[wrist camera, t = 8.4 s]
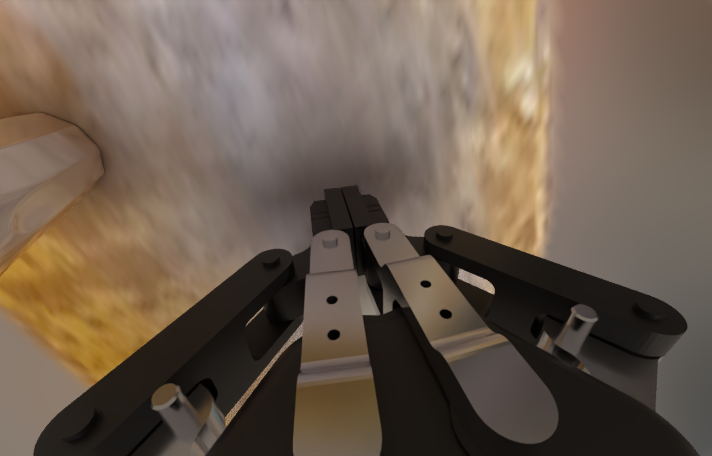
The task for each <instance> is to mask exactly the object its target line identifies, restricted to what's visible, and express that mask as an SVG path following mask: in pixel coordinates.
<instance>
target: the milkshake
mask: <svg viewBox="0 0 712 456" xmlns="http://www.w3.org/2000/svg"><path fill="white" fill-rule="evenodd" d="M104 172H105V171H104V167H103V163H102V159H101V154H100V150H99V148H98V147H97V146H96V145H95V144H94V143H93V142H92V141H91V140H90V139H89V138H88V137H87V136H86V135H85V134H84V133H83V132H82V131H81V130H80V129H79V128H78V127H77V126H76V125H74V124H71V123H68V122H66V121H63V120H61V119H58V118H55V117H53V116H50V115H48V114H45V113H42V112H40V113H33V114H26V115H19V116H11V117H4V118H0V276H1V275H2V274H3V273H4V272H5V271H6V270H7V269H8V268H9V267H10V266H11V265H12V264H13V263H14V262H15V261H16V260H17V259H18V258H19V257H20V256H21V255H22V254H23V253H24V252H25V251H26V250H27V249H28V248H29V247H30V246H32V245H33V244H34V243H35V242H36V241H37V240H38V239H39V238H40V237H41V236H42V235H43V234H44V233H46V232H47V231H48V230H49V229H50V228H51V227H52V226H53V225H54V224H55V223H56V222H57V221H58V220H60V219H61V218H62V217H63V216H64V215H65V214H66V213H67V212H68V211H69V210H70V209H71V208H72V207H73V206H75V205H76V204H77V203H78V202H79V201H80V200H81V199H82V198H83V197H84V196H85V195H86V194H87V193H89V192H90V191H91V190H92V188H93V187H94V186H95V184H96V183H97V182H98V180H99V179H100V178H101V176H102V175H103V174H104Z"/></svg>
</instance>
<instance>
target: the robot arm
mask: <svg viewBox="0 0 712 456" xmlns="http://www.w3.org/2000/svg"><path fill="white" fill-rule="evenodd" d="M324 194H325V200H321V201H314V202H313V204H312V205H311V207H310V212H311V222H312V232H313V238H312V240H311V246H310V247H309V248H308V249H307V250H305V251H303V252H301V253H299V254H296V255H294V256H292V255H291V253H290V252H288V251H286V250H283V249H271V250H267V251H264V252H262V253H260V254H258V255H257V256H255V257H254V258H253V259H252V260H250V261H249V262H248V263H247V264H245V265H244V266H243V267H242V268H240V269H239V270H238V271H237V272H235V273H234V274H233V275H231V276H230V277H229V278H228V279H226V280H225V281H224V282H223V283H221V284H220V285H219V286H218V287H216V288H215V289H214V290H213V291H211V292H210V293H209V294H208V295H206V296H205V297H204V298H203V299H201V300H200V301H199V302H198V303H196V304H195V305H194V306H193V307H191V308H190V309H189V310H188V311H186V312H185V313H184V314H183V315H181V316H180V317H179V318H177V319H176V320H175V321H174V322H172V323H171V324H170V325H169V326H167V327H166V328H165V329H164V330H162V331H161V332H160V333H159V334H157V335H156V336H155V337H154V338H152V339H151V340H150V341H149V342H147V343H146V344H145V345H144V346H142V347H141V348H140V349H139V350H137V351H136V352H135V353H134V354H132V355H131V356H130V357H129V358H127V359H126V360H125V361H123V362H122V363H121V364H120V365H118V366H117V367H116V368H115V369H113V370H112V371H111V372H110V373H108V374H107V375H106V376H105V377H103V378H102V379H101V380H100V381H98V382H97V383H96V384H95V385H93V386H92V387H91V388H90V389H88V390H87V391H86V392H85V393H83V394H82V395H81V396H80V397H78V398H77V399H76V400H75V401H73V402H72V403H71V404H70V405H68V406H67V407H66V408H64V409H63V410H62V411H61V412H60V413H59V414H57V416H56V417H54V418H53V419H52V420H51V422H50V423H49V424H48V425H47V426H46V428H45V429H44V430H43V432H42V433H41V435H40V437H39V438H38V440H37V443H36V445H35V449H34V456H700V455H699V454H698V453H697V452H696V450H695V449H694V447H693V446H692V445H691V444H690V443H689V442H688V441H687V440H686V439H685V437H684V436H683V435H682V434H681V433H680V432H679V431H678V430H677V429H676V428H674V427H673V426H672V425H671V424H670V423H669V422H668V421H666V420H665V419H664V418H663V417H662V416H660V415H659V414H658V413H656V412H655V411H656V391H657V370H658V363H659V362H660V361H661V360H662V358H663V357H664V356H665V355H666V353H667V352H668V351H669V350H670V349H671V348H672V347H673V346H674V344H675V343H676V342H677V341H678V340H679V339H680V337H681V336H682V335H683V334H684V333H685V331H686V330H687V322H686V320H685V319H684V317H683V316H682V315H681V314H680V313H679V312H678V311H677V310H676V309H674V308H673V307H672V306H670V305H668V304H667V303H665V302H663V301H661V300H659V299H657V298H655V297H652V296H649V295H646V294H644V293H641V292H638V291H635V290H632V289H629V288H626V287H623V286H621V285H618V284H615V283H612V282H609V281H606V280H603V279H600V278H598V277H595V276H592V275H589V274H586V273H583V272H580V271H577V270H574V269H572V268H569V267H566V266H563V265H560V264H557V263H554V262H551V261H549V260H546V259H543V258H540V257H537V256H534V255H531V254H528V253H526V252H523V251H520V250H517V249H514V248H511V247H508V246H505V245H503V244H500V243H497V242H494V241H491V240H488V239H485V238H482V237H479V236H477V235H474V234H471V233H468V232H465V231H462V230H459V229H456V228H454V227H450V226H444V225H439V226H433V227H430V228H428V229H427V230H426V231H425V234H424V237H412V236H406V235H404V234H403V233H402V231H401V230H400V229H399V228H398V227H397V226H395V225H393V224H390V223H389V221H388V219H387V217H386V215H385V213H384V212H383V210H382V208H381V206H380V204H379V202H378V200H377V199H376V198H375V197H373V196H371V195H370V194H367V195H361V193H360V191H359V189H358V187H357V185H356V186H348V187H341V189H340V188H332V189H324ZM459 268H460V269H463V270H465V271H467V272H470V273H472V274H474V275H477V276H479V277H481V278H484V279H486V280H488V281H489V282H490V283H491V284H492V285H493V286H494V288H495V294H491V293H489V292H487V291H484V290H482V289H480V288H478V287H475V286H473V285H471V284H469V283H467V282H464V281H462V280H460V279H458V274H459ZM356 271H357V274H358V276H362V275H365V278H366V290H367V293H368V295H369V297H370V300H371V302H372V305H373V307H374V310H375V312H376V315H362V309H361V303H360V297H359V290H358V284H357V277H356ZM262 307H264V309H263V310H262V311H261V312H260V313H259V314H258V315H257V316H256V317H255V318H254V319H253V320H252V321H251V322H250V323H249V324H248V325H247V326H246V324H247V323H248V321H249V320H250V319H251V318H252V317H253V316H254V315H255V314H256V313H257V312H258V311H259V310H260V309H261V308H262ZM302 322H303V336H302V337H300V338H299V339H298V340H296V341H295V342H293V343H292V344H291V345H290V346H289V347H288V348H287V349H286V350H285V351H284V352H283V353H282V354H281V355H280V357H279V358H278V359H277V361H276V362H275V363H274V365H273V366H272V367H271V369H270V370H269V371H268V372H267V374H266V375H265V376H264V378H263V379H262V380H261V382H260V383H259V384H258V386H257V387H256V388H255V390H254V391H253V392H252V394H251V395H250V396H249V398H248V399H247V400H246V402H245V403H244V404H243V406H242V407H241V408H240V410H239V411H238V412H237V414H236V415H235V416H234V418H233V419H232V420H231V422H230V423H229V424H228V426H227V427H226V428H225V417H226V415H227V414H228V413H229V412H230V410H231V409H232V408H233V407H234V406H235V404H236V403H237V402H238V401H239V399H240V398H241V397H242V396H243V395H244V393H245V392H246V391H247V390H248V388H249V387H250V386H251V385H252V384H253V382H254V381H255V380H256V379H257V377H258V376H259V375H260V374H261V372H262V371H263V370H264V369H265V368H266V366H267V365H268V364H269V363H270V361H271V360H272V359H273V358H274V357H275V355H276V354H277V353H278V352H279V350H280V349H281V348H282V347H283V345H284V344H285V343H286V342H287V341H288V339H289V338H290V337H291V336H292V334H293V333H294V332H295V331H296V330H297V328H298V327H299V326H300V325H301V323H302ZM245 326H246V327H245Z"/></svg>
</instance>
